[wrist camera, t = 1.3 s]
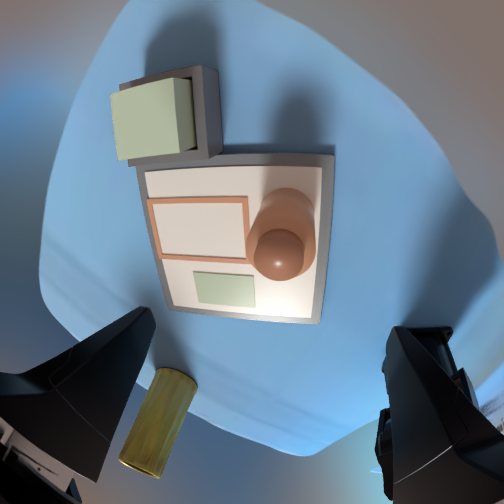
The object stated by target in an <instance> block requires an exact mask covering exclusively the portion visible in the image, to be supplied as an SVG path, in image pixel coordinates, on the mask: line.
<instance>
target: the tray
mask: <svg viewBox="0 0 504 504" xmlns="http://www.w3.org/2000/svg"><path fill="white" fill-rule="evenodd" d="M334 161H335V155H334V154H315V153H229V154H217V155H215V156H214V157H212V158H210V159H205V160H190V161H177V162H166V163H156V164H147V165H139V166H136V172H137V178H138V184H139V189H140V195H141V200H142V205H143V210H144V215H145V220H146V224H147V229H148V233H149V238H150V242H151V246H152V250H153V254H154V258H155V262H156V266H157V270H158V274H159V278H160V281H161V285H162V288H163V292H164V295H165V299H166V302H167V306H168V309H169V310H173V311H180V312H187V313H195V314H202V315H211V316H220V317H229V318H238V319H249V320H260V321H273V322H287V323H303V324H319V323H320V317H321V310H322V303H323V295H324V288H325V280H326V271H327V262H328V252H329V242H330V231H331V218H332V204H333V186H334ZM279 188H293V189H297V190H299V191H301V192H302V193H304V194H305V195H306V196H307V197H308V198H309V199H310V201H311V203H312V205H313V208H314V219H315V237H316V255H315V259H314V261H313V263H312V265H311V266H310V268H309V269H308V270H307V271H306V272H304V273H303V274H301V275H299V276H297V277H295V278H292V279H290V280H286V281H274V280H270V279H268V278H266V277H264V276H263V275H262V274H260V273H259V271H257V270H256V269H255V268H254V267H253V266H252V264H251V263H250V261H249V260H248V257H247V254H246V249H245V244H246V239H247V236H248V234H249V232H250V229H251V227H252V225H253V222H254V220H255V218H256V216H257V213H258V211H259V209H260V207H261V204H262V202H263V200H264V199H265V197H266V196H267V195H268V194H269V193H271V192H272V191H274V190H276V189H279Z"/></svg>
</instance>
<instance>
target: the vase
mask: <svg viewBox="0 0 504 504" xmlns="http://www.w3.org/2000/svg"><path fill="white" fill-rule="evenodd" d="M196 392H197V385H196V383H195V382H194V381H193V380H192V379H191V378H190V377H188V376H187V375H185V374H184V373H182V372H180V371H177V370H175V369H171V368H160V369H158V370H156V372H155V376H154V379H153V381H152V383H151V385H150V387H149V389H148V392H147V394H146V396H145V399H144V401H143V403H142V406H141V408H140V410H139V412H138V415H137V417H136V419H135V422H134V424H133V426H132V429H131V431H130V433H129V435H128V437H127V439H126V442H125V444H124V446H123V448H122V450H121V453H120V455H119V457H118V460H119V461H120V462H122V463H123V464H125V465H127V466H128V467H130V468H132V469H135V470H136V471H139V472H141V473H143V474H146V475H148V476H151V477H154V478H160V477H161V475H162V473H163V470H164V467H165V465H166V462H167V459H168V457H169V454H170V452H171V449H172V447H173V445H174V442H175V440H176V438H177V435H178V433H179V430H180V428H181V425H182V423H183V421H184V418H185V416H186V414H187V411H188V408H189V406H190V404H191V401H192V399H193V397H194V395H195V394H196Z"/></svg>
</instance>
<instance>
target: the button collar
mask: <svg viewBox="0 0 504 504" xmlns="http://www.w3.org/2000/svg"><path fill="white" fill-rule="evenodd" d="M168 78H180V79H186V80H192V83H193V97H194V111H195V123H196V134H197V146H195V147H192V148H190V149H188V150H185V151H183V152H181V153H173V154H164V155H155V156H147V157H140V158H133V159H128V165H129V167H131V166H139V165H147V164H156V163H166V162H177V161H190V160H205V159H210V158H212V157H214V156H215V155H217V154H219V153H221V152H222V151H223V138H222V125H221V110H220V95H219V79H218V71H217V70H215V69H212V68H209V67H207V66H204V65H198V66H192V67H186V68H181V69H177V70H172V71H167V72H163V73H159V74H155V75H151V76H147V77H143V78H140V79H136V80H133V81H130V82H126V83H123V84H120V85H119V88H120V91H122V90H125V89H129V88H132V87H136V86H139V85H143V84H147V83H151V82H155V81H159V80H164V79H168Z"/></svg>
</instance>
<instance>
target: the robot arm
mask: <svg viewBox="0 0 504 504" xmlns="http://www.w3.org/2000/svg"><path fill="white" fill-rule="evenodd" d="M155 328H156V322H155V319H154V317H153V314H152V311H151V309H150V308H149V307H144V306H139V307H138V308H136V309H134V310H133V311H131V312H129V313H128V314H126V315H124V316H123V317H121V318H119V319H118V320H116V321H114V322H113V323H111V324H109V325H108V326H106V327H104V328H103V329H101V330H99V331H98V332H96V333H94V334H93V335H91V336H89V337H88V338H86V339H84V340H83V341H81V342H79V343H78V344H76V345H75V346H73V348H72V347H71V348H70V349H68V350H66V351H65V352H63V353H61V354H59V355H58V356H56V357H54V358H52V359H50V360H48V361H46V362H45V363H42V364H40V365H39V366H36V367H35V368H32V369H30V370H28V371H26V372H24V373H20V374H11V373H3V372H0V504H82V500H81V497H80V495H79V492H78V489H77V486H76V483H75V480H74V479H73V478H72V477H73V475H74V473H75V472H76V473H78V474H80V475H82V476H83V477H85V478H87V479H89V480H91V481H93V482H95V483H96V482H97V480H98V478H99V475H100V472H101V469H102V466H103V463H104V460H105V458H106V455H107V452H108V449H109V447H110V444H111V441H112V439H113V436H114V433H115V431H116V428H117V426H118V423H119V421H120V418H121V416H122V413H123V411H124V408H125V406H126V403H127V401H128V398H129V396H130V393H131V391H132V389H133V387H134V384H135V382H136V380H137V377H138V375H139V373H140V370H141V368H142V366H143V363H144V361H145V358H146V356H147V353H148V349H149V346H150V343H151V340H152V337H153V334H154V331H155ZM452 334H453V330H452V328H451V327H443V328H422V329H406V328H405V327H404V326H394V327H393V328H392V330H391V333H390V335H389V338H388V340H387V343H386V357H385V359H384V362H383V366H382V372H383V373H384V375H385V382H386V389H387V394H388V395H389V404H390V407H389V408H387V409H386V408H385V409H383V410H381V411H380V418H379V425H378V432H377V438H376V445H375V453H376V456H377V460H378V462H379V464H380V466H381V468H382V473H383V481H384V493H385V495H386V496H387V497H388V499H389V500H391V501H393V504H504V435H503V434H502V433H500V432H499V431H498V430H497V429H496V428H495V427H494V426H493V425H492V424H491V422H490V421H489V420H488V419H487V418H486V417H485V416H484V415H483V414H482V413H481V412H480V411H479V406H478V401H477V398H476V395H475V392H474V389H473V386H472V383H471V381H470V379H469V377H468V376H467V374H466V372H465V370H464V368H461V369H460V370H457V368H456V365H455V362H454V359H453V356H452V353H451V351H450V348H449V345H448V341H449V339H450V337H451V336H452Z"/></svg>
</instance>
